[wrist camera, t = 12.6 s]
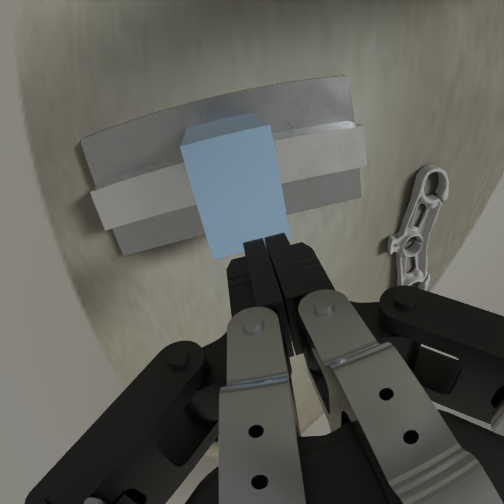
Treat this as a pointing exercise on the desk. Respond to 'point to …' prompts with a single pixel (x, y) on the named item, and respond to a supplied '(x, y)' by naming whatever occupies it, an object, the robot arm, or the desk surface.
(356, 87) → the desk surface
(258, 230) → the block
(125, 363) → the desk surface
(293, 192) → the din rail
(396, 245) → the bracket
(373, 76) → the desk surface
